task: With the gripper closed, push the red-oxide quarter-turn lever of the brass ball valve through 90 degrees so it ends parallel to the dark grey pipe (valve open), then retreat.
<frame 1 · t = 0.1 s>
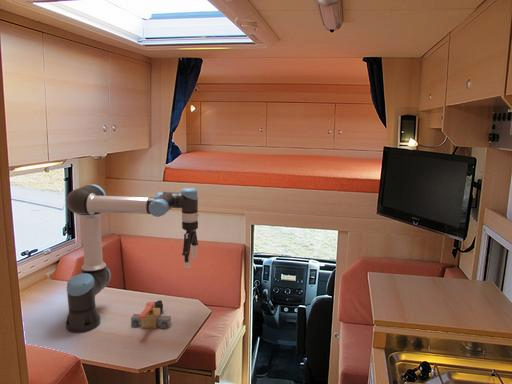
hand: (190, 262, 196), 28 cm above the table, fingers open, 13 cm apart
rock: (154, 314, 203), on the table
valve: (151, 324, 192), on the table
lever: (147, 310, 186), point 10 cm above the table, hinge at -90.0°
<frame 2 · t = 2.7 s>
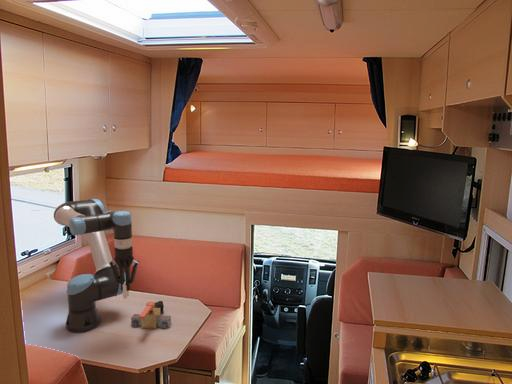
hand: (126, 297, 181), 18 cm above the table, fingers closed
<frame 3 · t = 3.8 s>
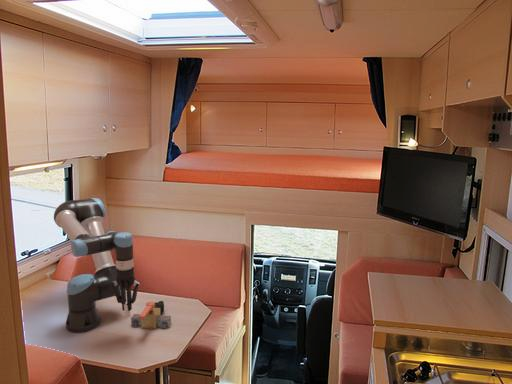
hand: (127, 316, 182), 8 cm above the table, fingers closed
nothing on the table moved.
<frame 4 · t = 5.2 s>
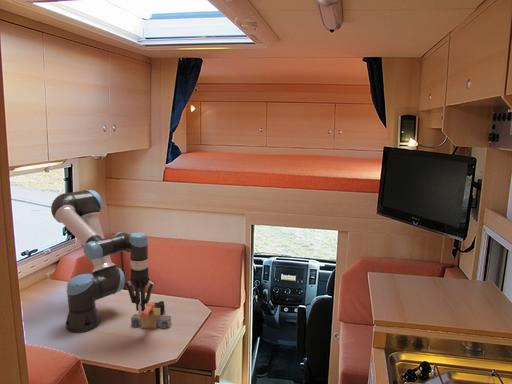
hand: (141, 317, 182), 9 cm above the table, fingers closed
lever: (147, 310, 186), point 10 cm above the table, hinge at -87.6°, touching gripper
everything else where it was.
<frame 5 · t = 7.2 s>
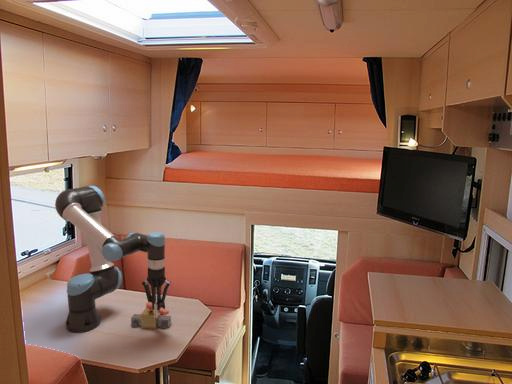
hand: (156, 316, 184), 8 cm above the table, fingers closed
lever: (157, 308, 187), point 10 cm above the table, hinge at -35.5°, touching gripper
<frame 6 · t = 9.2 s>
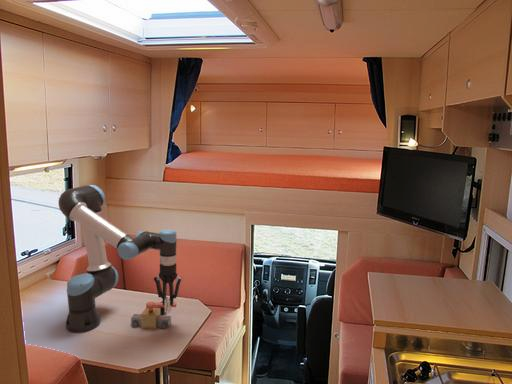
hand: (168, 311, 189), 8 cm above the table, fingers closed
lever: (161, 304, 191), point 10 cm above the table, hinge at 7.4°, touching gripper
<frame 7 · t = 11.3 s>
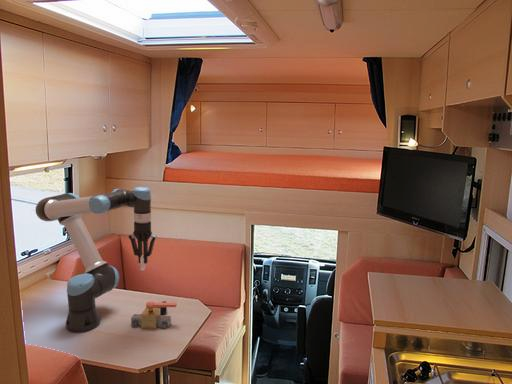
hand: (143, 269, 189), 27 cm above the table, fingers closed
lever: (161, 304, 191), point 10 cm above the table, hinge at 7.4°
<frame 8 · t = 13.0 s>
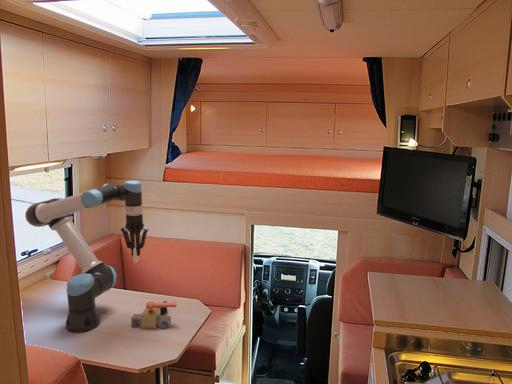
hand: (136, 261, 192), 29 cm above the table, fingers closed
at the end: lever at +7° (first picture: -90°) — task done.
